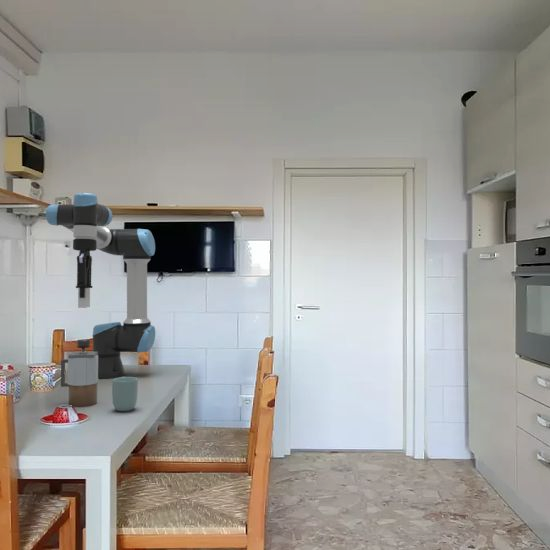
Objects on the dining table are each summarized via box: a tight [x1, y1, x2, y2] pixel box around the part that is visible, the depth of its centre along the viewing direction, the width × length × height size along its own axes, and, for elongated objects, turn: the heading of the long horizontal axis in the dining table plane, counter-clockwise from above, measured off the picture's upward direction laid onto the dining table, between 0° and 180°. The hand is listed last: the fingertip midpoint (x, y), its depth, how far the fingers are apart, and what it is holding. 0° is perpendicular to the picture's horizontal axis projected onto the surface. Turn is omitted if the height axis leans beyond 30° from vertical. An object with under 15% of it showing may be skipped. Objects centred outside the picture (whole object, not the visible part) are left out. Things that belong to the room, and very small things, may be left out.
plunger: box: [76, 338, 91, 354], centre depth 168 cm, size 7×7×14 cm
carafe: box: [60, 351, 99, 408], centre depth 168 cm, size 9×12×17 cm
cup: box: [111, 376, 139, 412], centre depth 160 cm, size 8×8×10 cm
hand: (84, 307), depth 169 cm, fingers open, 4 cm apart
